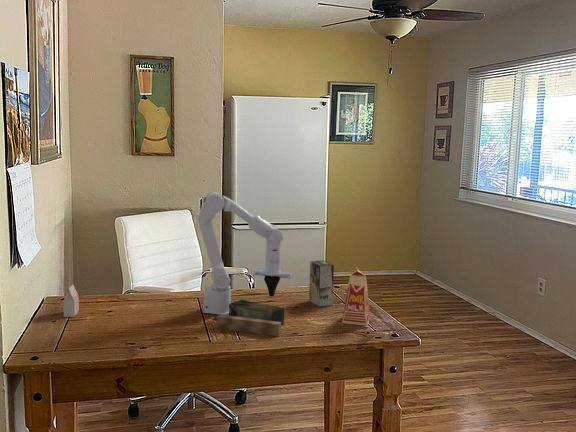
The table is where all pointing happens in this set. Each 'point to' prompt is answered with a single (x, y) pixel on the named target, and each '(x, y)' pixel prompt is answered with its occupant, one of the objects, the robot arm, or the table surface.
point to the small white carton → (71, 303)
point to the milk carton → (356, 300)
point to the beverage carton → (256, 311)
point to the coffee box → (321, 283)
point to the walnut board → (249, 325)
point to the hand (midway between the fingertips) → (271, 295)
